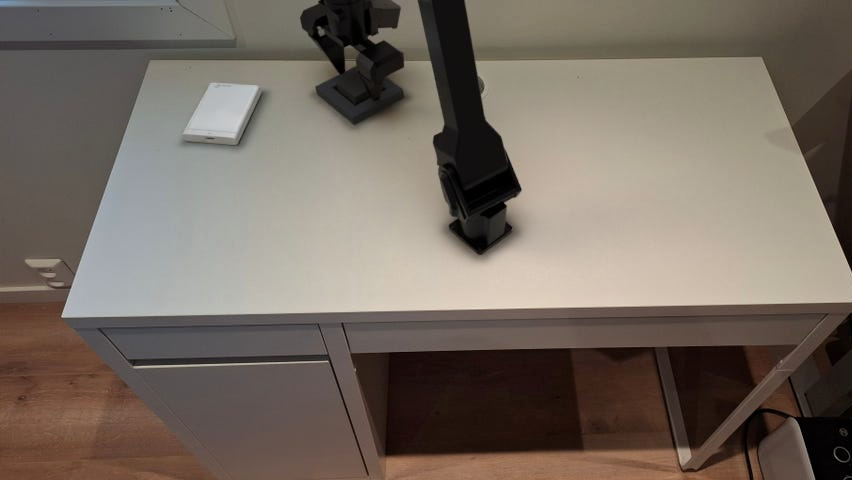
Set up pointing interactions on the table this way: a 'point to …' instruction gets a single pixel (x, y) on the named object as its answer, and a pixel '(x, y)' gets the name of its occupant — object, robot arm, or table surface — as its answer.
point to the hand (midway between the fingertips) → (358, 86)
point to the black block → (353, 89)
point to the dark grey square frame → (363, 109)
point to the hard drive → (222, 114)
